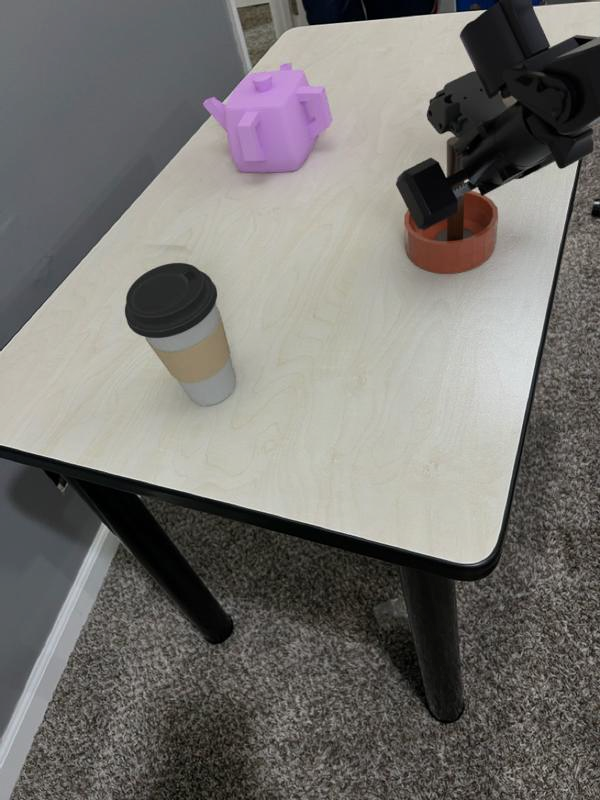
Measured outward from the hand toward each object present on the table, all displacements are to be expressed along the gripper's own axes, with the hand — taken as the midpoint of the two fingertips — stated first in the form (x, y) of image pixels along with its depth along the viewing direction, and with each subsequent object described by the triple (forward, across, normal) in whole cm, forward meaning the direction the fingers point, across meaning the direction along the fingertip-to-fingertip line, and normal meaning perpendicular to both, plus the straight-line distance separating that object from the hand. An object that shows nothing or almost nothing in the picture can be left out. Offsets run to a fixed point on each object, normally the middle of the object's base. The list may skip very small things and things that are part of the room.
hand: (447, 192), depth 72 cm
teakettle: (+34, +5, -23) cm, 41 cm away
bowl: (+5, 0, +6) cm, 8 cm away
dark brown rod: (+4, 0, +6) cm, 7 cm away
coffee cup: (+4, +36, +7) cm, 37 cm away
